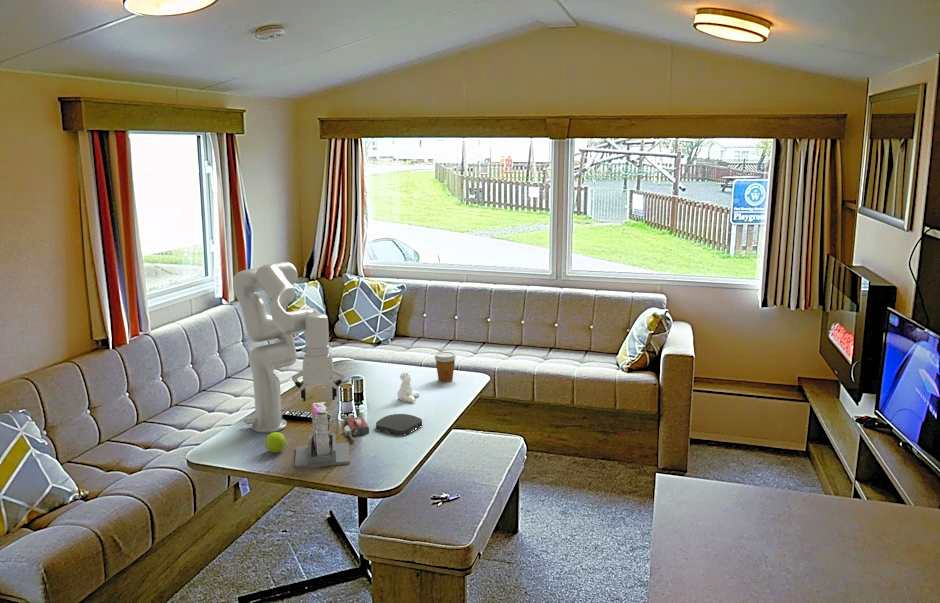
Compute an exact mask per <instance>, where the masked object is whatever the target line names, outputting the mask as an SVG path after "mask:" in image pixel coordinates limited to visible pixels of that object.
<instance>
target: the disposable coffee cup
mask: <svg viewBox="0 0 940 603" xmlns="http://www.w3.org/2000/svg"><path fill="white" fill-rule="evenodd" d="M456 358H457V356H456V354H455V353H454V352H452V351H451V352H450V351H441V352H437V353H435V356H434V359H435V366H436V372H437V379H438V382H440V381H441V382H440V383H450V381H451V382H453V377H454V370H455V362H456Z"/></svg>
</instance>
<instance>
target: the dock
mask: <svg viewBox="0 0 940 603" xmlns="http://www.w3.org/2000/svg"><path fill="white" fill-rule="evenodd" d="M329 436H330V454H331V455H327V456H316V453H315V450H314V442H313V434H309V436H308V445H298V446H296V447H295V448H296V450H295V457H294V469H302V468H315V467H327V466H328V465H330V466H342V465H343V464H344V465H350V464H351V461H350V460H351V459H350V458H351V457H350V442H338V443H337V440H336V439H337V438H336V433H329ZM328 467H329V466H328Z"/></svg>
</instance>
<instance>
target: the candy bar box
mask: <svg viewBox="0 0 940 603" xmlns="http://www.w3.org/2000/svg"><path fill="white" fill-rule="evenodd" d="M310 407H311V408H310V409H311V410H310V411H311V425H312V426H311V427H312V435H313V442H314V450H315V453H316V456H327V455H331V454H330V436H329V434H330V424H329V423H330V422H329V411H328V408H327V407H328V406H327V405H326V402H325V401H318V402H312V403H310Z"/></svg>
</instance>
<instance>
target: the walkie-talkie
mask: <svg viewBox="0 0 940 603" xmlns="http://www.w3.org/2000/svg"><path fill="white" fill-rule="evenodd" d="M344 424H345V426H344V428H343V431H344V434H345V436H346V437H348V438H349V439H350V441H351V442H352V443H355V439H354V437H353V436H352V435H355V436H359V435H358V434H361V435H367V434H366V433H368V434H370V427H369V425H368V424H367V422H366V421H365V419H364V417H362V416H353V417H348V418H346V420H345V421H344Z"/></svg>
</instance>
